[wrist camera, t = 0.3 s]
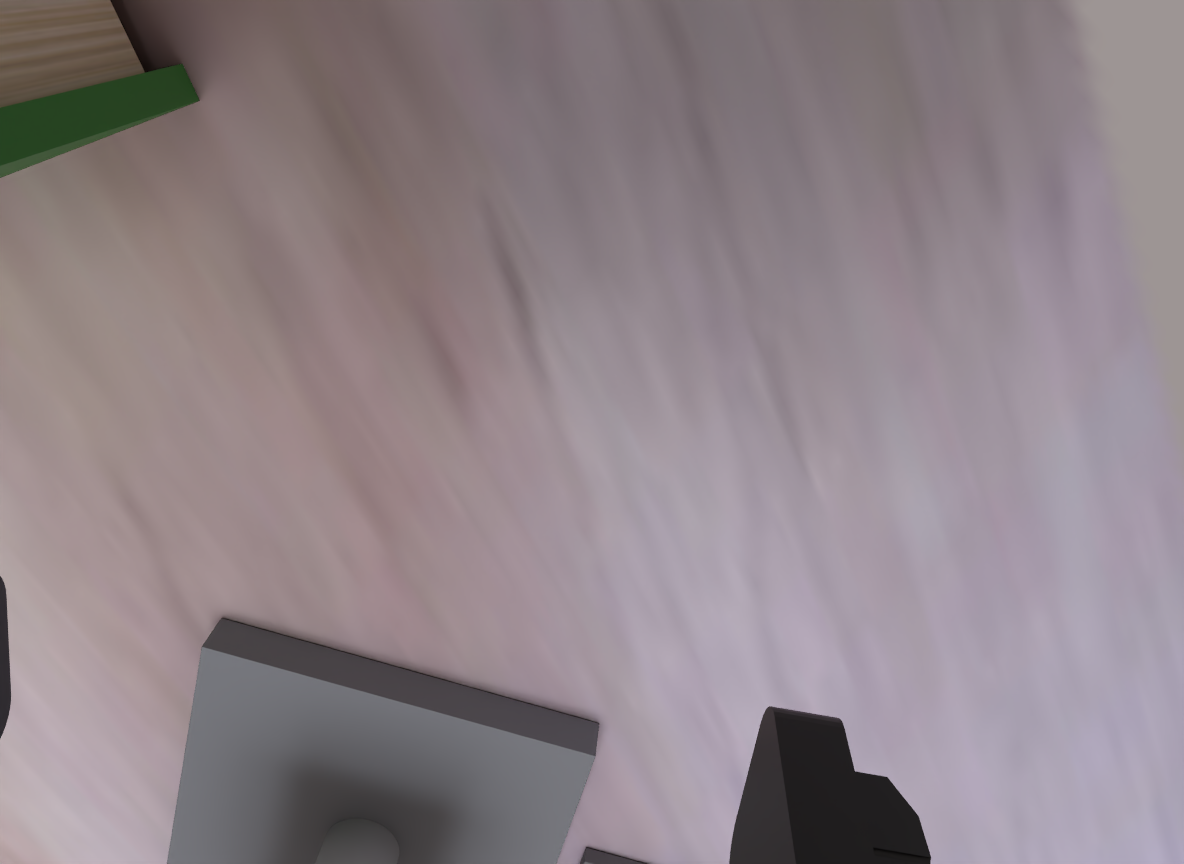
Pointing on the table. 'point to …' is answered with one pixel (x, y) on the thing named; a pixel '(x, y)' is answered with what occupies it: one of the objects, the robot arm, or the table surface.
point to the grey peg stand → (366, 763)
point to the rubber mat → (604, 858)
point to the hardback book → (73, 80)
